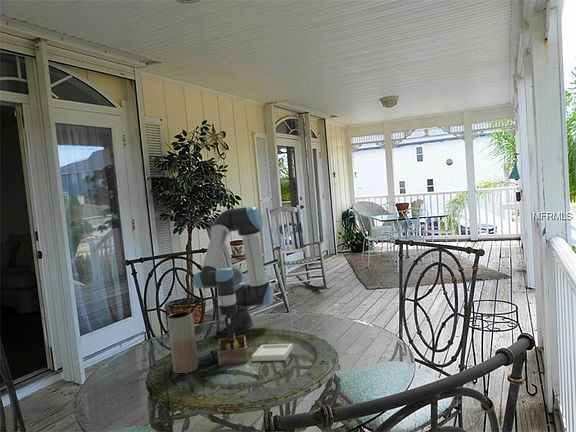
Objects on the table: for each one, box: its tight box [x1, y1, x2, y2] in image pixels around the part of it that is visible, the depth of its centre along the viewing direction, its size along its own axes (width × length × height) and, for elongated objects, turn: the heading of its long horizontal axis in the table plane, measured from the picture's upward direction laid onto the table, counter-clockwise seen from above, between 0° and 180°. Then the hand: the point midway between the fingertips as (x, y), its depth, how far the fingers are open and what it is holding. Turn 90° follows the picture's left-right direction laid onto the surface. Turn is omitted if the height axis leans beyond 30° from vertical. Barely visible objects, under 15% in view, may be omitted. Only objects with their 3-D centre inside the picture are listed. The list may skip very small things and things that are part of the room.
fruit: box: [226, 339, 239, 350], centre depth 190 cm, size 6×6×8 cm
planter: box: [166, 311, 199, 374], centre depth 179 cm, size 10×10×23 cm
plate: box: [251, 343, 294, 362], centre depth 186 cm, size 14×14×2 cm
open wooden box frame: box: [217, 334, 249, 366], centre depth 190 cm, size 20×12×6 cm, turn 8°
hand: (233, 353), depth 190 cm, fingers open, 12 cm apart
